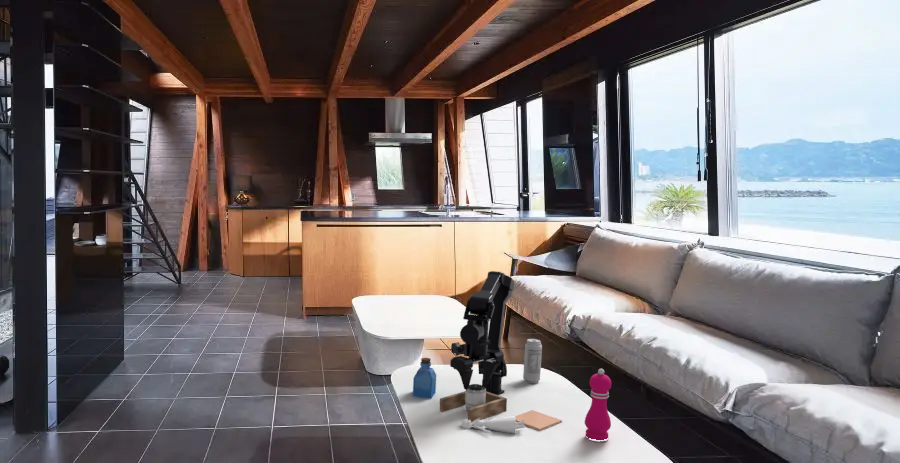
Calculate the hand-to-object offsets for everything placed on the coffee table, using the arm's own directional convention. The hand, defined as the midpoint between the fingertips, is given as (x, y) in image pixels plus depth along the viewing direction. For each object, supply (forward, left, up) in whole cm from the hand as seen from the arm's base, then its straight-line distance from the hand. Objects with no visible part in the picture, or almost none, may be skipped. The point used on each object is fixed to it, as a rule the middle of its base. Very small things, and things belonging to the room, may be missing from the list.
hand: (476, 386), depth 201 cm
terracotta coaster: (-8, +18, -8) cm, 21 cm away
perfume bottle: (+2, -20, -8) cm, 22 cm away
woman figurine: (+7, +13, -8) cm, 17 cm away
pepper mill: (-11, +37, -8) cm, 39 cm away
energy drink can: (-39, -7, -8) cm, 40 cm away
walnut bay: (+1, 0, -8) cm, 8 cm away
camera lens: (0, 0, -8) cm, 8 cm away
